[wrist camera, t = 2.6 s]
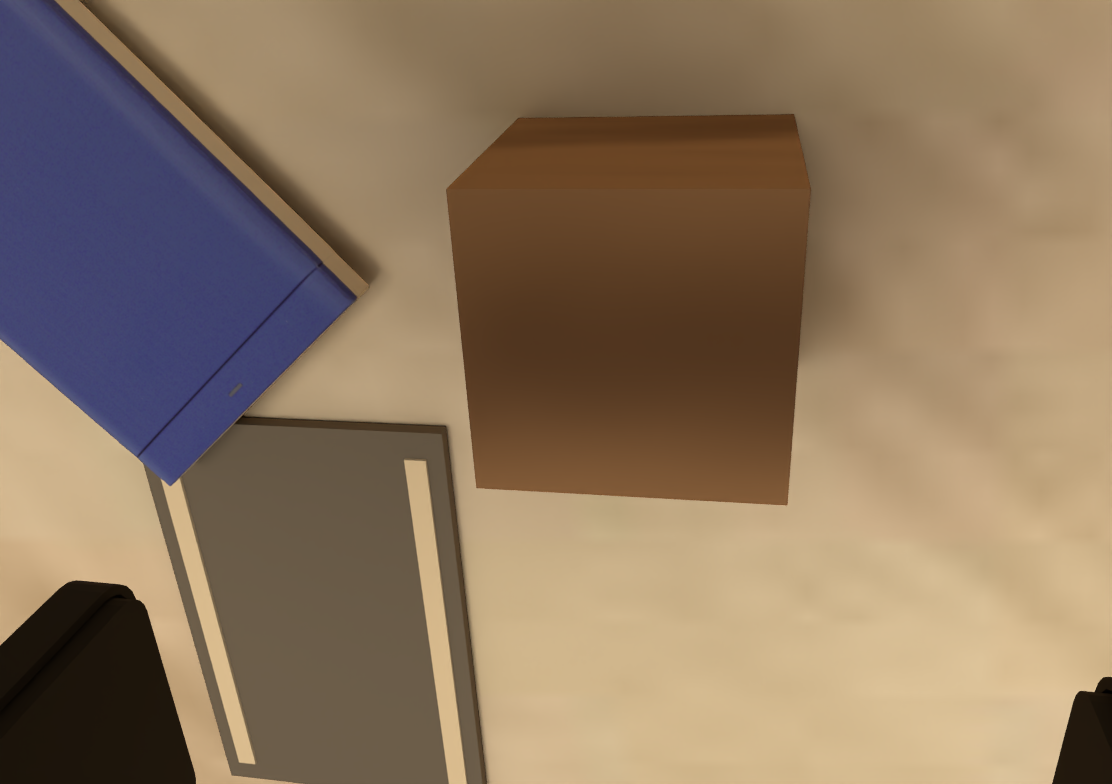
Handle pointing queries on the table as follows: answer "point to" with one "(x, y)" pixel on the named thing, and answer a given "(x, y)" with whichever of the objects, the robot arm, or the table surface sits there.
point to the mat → (328, 601)
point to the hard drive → (143, 245)
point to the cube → (633, 305)
